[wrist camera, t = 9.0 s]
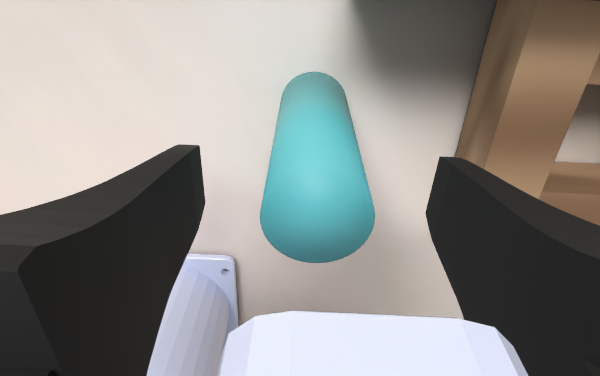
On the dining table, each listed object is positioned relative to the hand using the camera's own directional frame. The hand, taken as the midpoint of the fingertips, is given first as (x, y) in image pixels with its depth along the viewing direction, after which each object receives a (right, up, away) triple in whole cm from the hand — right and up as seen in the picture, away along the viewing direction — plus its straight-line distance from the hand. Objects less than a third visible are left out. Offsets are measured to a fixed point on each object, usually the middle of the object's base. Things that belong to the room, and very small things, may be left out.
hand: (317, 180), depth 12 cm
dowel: (0, +4, +6) cm, 7 cm away
